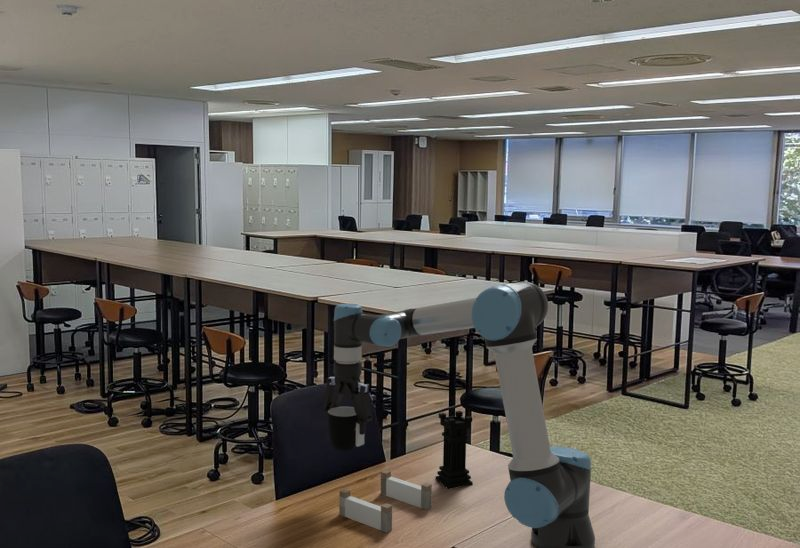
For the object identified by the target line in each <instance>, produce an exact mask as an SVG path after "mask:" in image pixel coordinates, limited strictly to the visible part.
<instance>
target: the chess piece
mask: <svg viewBox="0 0 800 548" xmlns="http://www.w3.org/2000/svg"><path fill="white" fill-rule="evenodd" d="M463 415H464V413H463V411H462V410H456V411H455V414H454V415H450V416H447V413H445V412H440V413H438V418H439V419H440V421H439V423H440V424H439V425H440V426H442V427H443V432H441V436H443V446H442V447H443V451H442V452H443V453H442V465H439V467H438V468H439V469H438V470H437V473H436V474H437V475H435V477H434V478H435V480H436V479H437V480H438V482H439V483H440V485H442V486H444V487H445V488H446V487H447V489H448V490H451V489H450V488H452V489H457V488H461V487H467V486H473V483H474V482H473V481H472V477H471V475H470V471H469V469H467V468H466V466H467V465H466V464H467V463H466V459H467V458H466V455H467V440H468V439H469V435H467V429H471V423H472V422H473V417H472V416H470V415H468V416H464V417H463ZM437 480H436V481H437ZM456 487H457V488H456Z"/></svg>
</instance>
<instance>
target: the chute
mask: <svg viewBox="0 0 800 548" xmlns="http://www.w3.org/2000/svg"><path fill="white" fill-rule="evenodd" d="M432 486H433V485H432V483H428V482H424V483H422V484H421V485H419V484H416V483H413V482H409V481H406V480H402V479H400V478H397V477H394V476H392V471H390V470H387V469H384V470H382V471H380V495H382V496H386V497H389V498H392V499H394V500H398V501H401V502H403V503H405V504H409V505H412V506H414V507H417V508H421V509H423V510H426V511H427V510H429V509H431V508H432V493H433V492H432ZM338 495H339V499H338V500H339V501H338V503H339V505H338V506H339V507H338V508H339V509H338V510H339V515H340V516H342V517H345V518H348V519H350V520H353V521H355V522H357V523H360V524H364V525H366V526H368V527H371V528H373V529H376V530H379V531H381V532H384V533H389V532H391V531H392V530H393V505H392V504H390V503H386V502H385V503H384V504H382V505H377V504H375V503H372V502H369V501H366V500H364V499H360V498H358V497H354V496H353V495H351V490H349V489H347V488H343V489H340V490H339V494H338Z"/></svg>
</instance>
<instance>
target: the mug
mask: <svg viewBox="0 0 800 548" xmlns="http://www.w3.org/2000/svg"><path fill="white" fill-rule="evenodd" d="M357 422H358V419H357V414H356V413H355V410H354V407H353V406H339V407H335V408H331V409H330V410H329V411H328V412H327V425H328V426H327V428H328V429H327V430H328V436H329V437H328V438H329V442H330V446H331V447H332V449H333V450H336V451H338V452H339V451H340V452H349V451H353V450H354V449H355V448H357V446H356V423H357Z"/></svg>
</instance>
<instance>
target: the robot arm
mask: <svg viewBox="0 0 800 548" xmlns="http://www.w3.org/2000/svg"><path fill="white" fill-rule="evenodd" d="M548 310H549V301H548V297H547V296H546V294H545V292H544V291H543V289H542V288H541V287H540V286H538V285H537V284H535V283H534V282H529V281H524V280H522V281H517V282H511V283H505V284H497V285H494V286H491V287H489V288H486V289H485V290H483V291H481V292H480V293H479V294H478V296H477V297H473V298H468V299H461V300H454V301H450V302H444V303H438V304H434V305H427V306H422V307H416V308H407V309H403V310H400V311H396V312H389V313H388V312H387V313H384V314H377V315H375V314H368V313H366V314H365V313H363V312H364V311H363V307H362V305H360V304H357V303H339V304H337V305H336V306H335V307H334V313H333V315H334V316H333V335H334V337H333V341H334V342H333V360H334V362H333V376H329V377H326V379H325V381H326V389H325V395H324V400H323V407H322V411H323V412H326V413H328V411H329V410H330V409H331V408H335V407H340V404H341V402H342V400H343V398H344V395H346V396H348V399H349V400H351V404H352V407H354V410H355V413H356V414H357V419H358V422H357V423H356V448H357V447H361V446H363V445H365V434H366V433H367V423H369V422H371V421H372V420H373V413H372V412H373V411H372V406H371V400H370V384H369V383H366V384H365V383H362V381H361V379H360V378H361V375H362V365H363V364H362V362H361V360H362V343H364V344H370V345H374V346H379V347H388V348H389V347H394V346H396V344H397V343H398V342H399V341H400V340H403V339H407V338H413V337H419V336H420V337H421V336H427V335H432V334H438V333H446V332H453V331H459V330H460V331H461V330H467V329H469V330H470V329H474V330H475V331H476V332H477V333H479V335H480V336H481V337H482V338H484V341H485V347H486V349H487V350H489V351H490V352H492V353H493V355H494V359H495V364H496V370H497V376H498V382H499V388H500V392H501V398H502V403H503V408H504V413H505V414H504V415H505V419H506V425H507V430H508V431H507V432H508V436H509V441H510V448H511V453H512V459H511V460H510V461H509V463H508V465H507V467H508V475H509V480H510V481H509V482H508V484H507V486H506V487H505V490H504V493H503V496H504V503H505V506H506V508H507V511H508V513H510V515H511V516H512V517H513V519H516V520H517V521H518V523H520V524H521V525H523V526H525V527H527V528H531V531H530V540H531V543H532V545H533V546H535V547H536V548H595V545H596V543H595V542H596V537H595V533H594V529H593V526H592V521H591V519H590V515H589V510H590V509H589V507H590V496H591V494H590V493H591V472H592V465H591V462H592V460H591V457H590V456H589V455H588V453H586V452H584V451H582V450H579V449H576V448H573V447H572V448H571V447H565V446H555V445H554V446H551V445H550V441H549V434H548V430H547V425H546V419H545V418H546V417H545V413H544V406H543V402H542V396H541V391H540V386H539V379H538V376H537V375H538V374H537V370H536V369H537V367H536V364H535V358H534V353H533V346H534V344H536V342H537V341H538V338H537V331H536V327H538V326H539V325H541V324H542V323H543V322H544V320H545V319H546V316H547V314H548Z"/></svg>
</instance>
